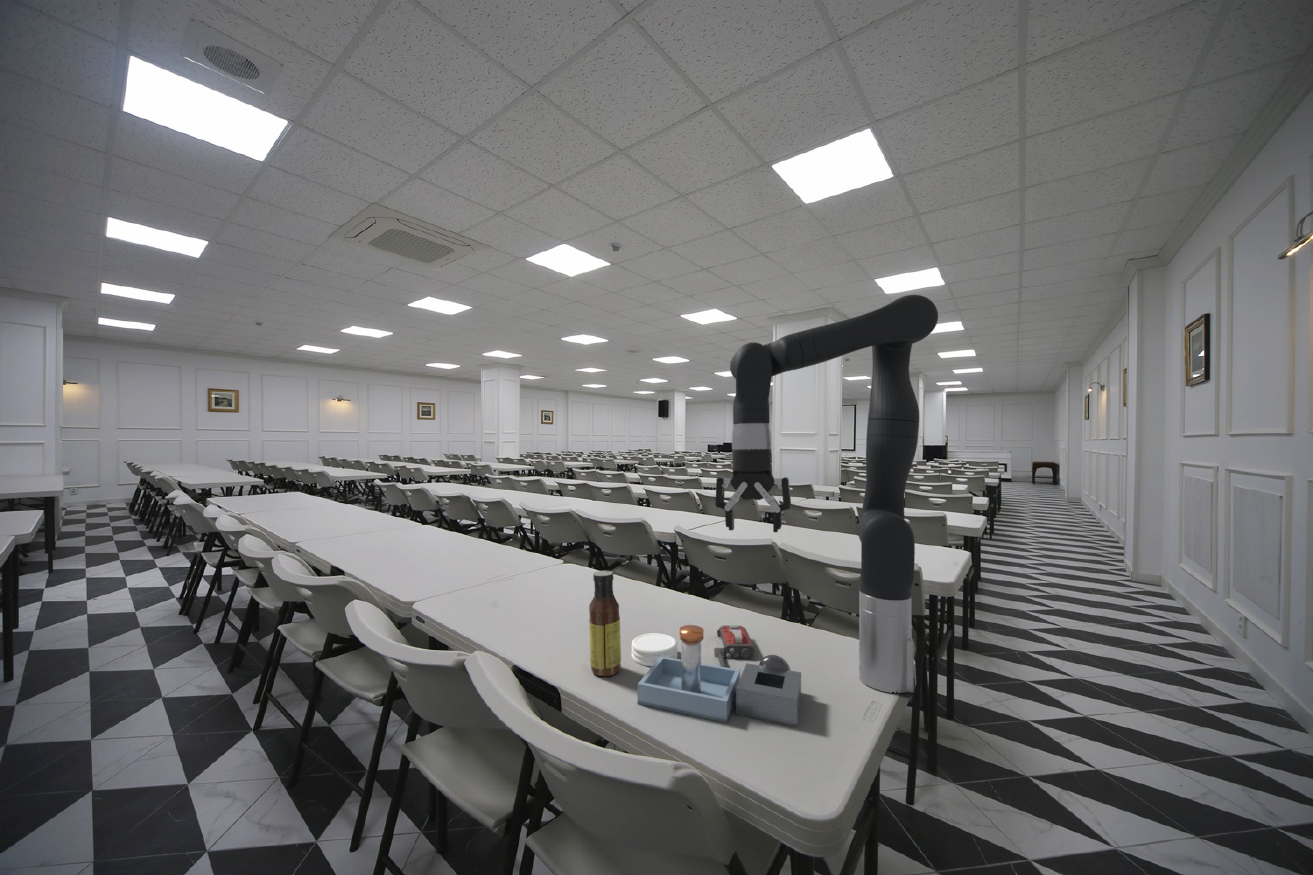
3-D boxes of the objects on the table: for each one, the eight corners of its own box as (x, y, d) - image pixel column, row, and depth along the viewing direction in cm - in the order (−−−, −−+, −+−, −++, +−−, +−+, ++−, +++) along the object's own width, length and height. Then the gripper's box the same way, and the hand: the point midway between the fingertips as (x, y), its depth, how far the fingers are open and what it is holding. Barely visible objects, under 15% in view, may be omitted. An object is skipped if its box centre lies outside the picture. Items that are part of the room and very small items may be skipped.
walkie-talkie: (709, 636, 115) (718, 676, 95) (709, 617, 115) (718, 653, 95) (745, 636, 115) (762, 676, 95) (745, 618, 115) (762, 654, 95)
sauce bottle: (621, 663, 100) (622, 568, 100) (620, 678, 93) (621, 576, 94) (590, 663, 99) (591, 568, 100) (586, 678, 93) (588, 576, 93)
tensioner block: (801, 691, 89) (801, 658, 89) (797, 727, 77) (797, 690, 78) (748, 681, 92) (748, 650, 92) (736, 714, 81) (736, 679, 81)
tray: (740, 688, 90) (740, 669, 90) (726, 722, 78) (726, 701, 78) (660, 673, 95) (660, 656, 95) (637, 703, 84) (637, 683, 84)
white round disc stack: (685, 654, 105) (685, 638, 105) (661, 672, 96) (661, 654, 96) (648, 644, 110) (648, 628, 110) (622, 660, 102) (622, 643, 102)
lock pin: (705, 689, 88) (706, 626, 88) (699, 700, 84) (699, 635, 84) (683, 684, 90) (683, 623, 90) (675, 696, 86) (676, 632, 86)
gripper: (790, 447, 94) (792, 529, 93) (719, 447, 99) (721, 526, 98) (787, 446, 87) (789, 536, 86) (711, 447, 91) (712, 532, 91)
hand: (753, 530), depth 92 cm, fingers open, 8 cm apart
